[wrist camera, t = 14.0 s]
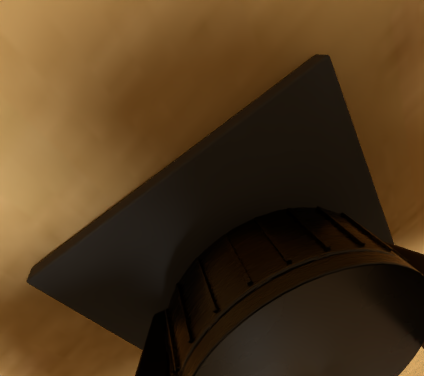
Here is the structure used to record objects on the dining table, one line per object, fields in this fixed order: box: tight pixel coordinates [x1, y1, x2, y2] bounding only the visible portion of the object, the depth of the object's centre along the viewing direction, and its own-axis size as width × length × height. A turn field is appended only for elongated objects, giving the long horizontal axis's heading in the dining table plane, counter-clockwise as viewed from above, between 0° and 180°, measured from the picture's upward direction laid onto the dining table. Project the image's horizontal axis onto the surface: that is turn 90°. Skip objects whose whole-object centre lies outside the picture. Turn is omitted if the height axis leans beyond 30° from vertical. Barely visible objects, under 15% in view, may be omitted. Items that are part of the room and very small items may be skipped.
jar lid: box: [164, 206, 424, 376], centre depth 8 cm, size 7×7×2 cm
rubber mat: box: [27, 54, 394, 350], centre depth 10 cm, size 10×10×1 cm
